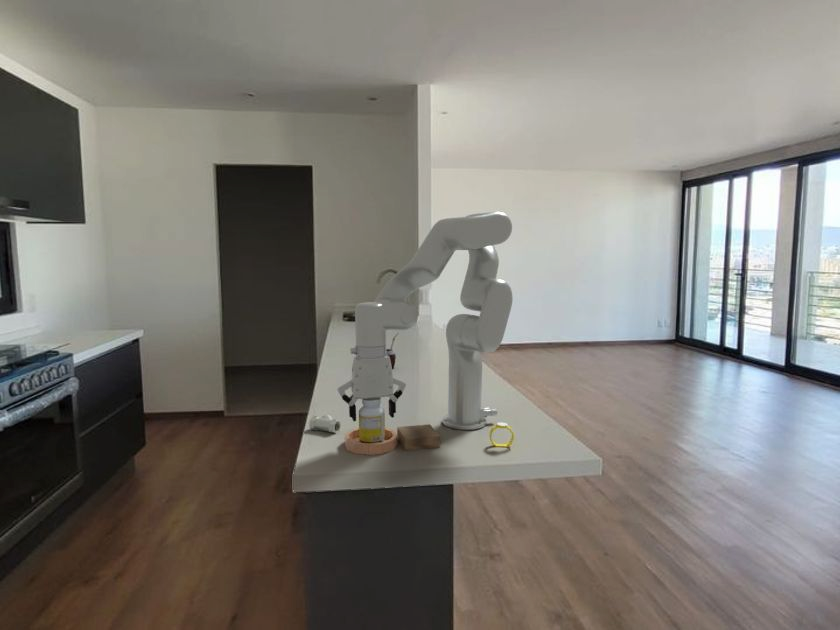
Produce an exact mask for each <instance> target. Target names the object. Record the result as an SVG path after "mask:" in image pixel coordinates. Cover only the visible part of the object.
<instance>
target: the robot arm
mask: <svg viewBox="0 0 840 630" xmlns="http://www.w3.org/2000/svg"><path fill="white" fill-rule="evenodd" d="M512 230H513V224H512V221H511V219H510V217H509V216H508V215H507V214H506V213H504V212H501V211H491V212H482V213H472V214H469V215H465V216H459V217H450V218H449V217H448V218H443V219H439V220H438V221H437V222H435V224H434V225H433V226H432V227H431V229H430V231H429V232H428V234H427V235H426V236H425V238H424V240H423V242H421V244H420V246H419V248H418V249H417V251H416V252H415V254H414V255H413V257H412V258H411V260H410V261H409V262H408V263H407V264H406V265H404V266H403V267H402V268H401V269H399V270H398V271H397V272H396V273H395V274H394V275H393V276H392V277H391V278H389V280H388V281H387V282H386V283H385V284H384V285H383V287H382V288H381V290H380V292H379V293H378V295H377V296H376V298H375V299H374V301H366V302H359V303H358V304H356V306H355V307H354V318H355V319H354V320H355V321H354V323H355V326H354V327H355V346H354V347H351V348H350V349H349V351H350V354H351V355H353V354H354V355H355V356H354V357H353V361H352V367H351V379H350V380H349V381H347V382H346V383H344V384H342V385H340V386H338V388H337V392H338V394H339V396H340V397H341V399H342V400H343V401H344V402H345V403H346V404H347V405H348V411H349V413H348V415H349V418H351V419H352V422H356V421H357V405H356V402H357V401H358V400H362V399H368V398H379V397H380V398H385V397H388V398H389V399H388V415H389V416H390V418H395V414H396V413H397V402H398V399H400V397H402V395H403V392H404V391H405V388H406V386H407V384H406V382H404V381H402V380H400V379H397V378H395V377H393V369H392V366H391V361H390V357H389V356H388V355H386V349H387V331H388V330H390V331H405V330H406V331H407V330H410V329H411V328H412V327H414V326H415V325H416V323H417V322H418V318H419V312H418V310H417V308H416V306H415V305H414V304H413V303H411V302H410V301H406V299H407V298H408V297H409V296H410V295H411V294H412V293H413V292H415V291H417V290H418V289H420V288H423V287H425V286H427V285H429V284H431V283H433V282H435V281H437V280H438V278H440V276H441V274H442V272H443V271H444V269H445V268H446V266H447V265H448V263H449V262H450V260H451V258H452V257H453V255H454V253H455V252H456V251H468V255H469V256H468V257H469V259H468V264H467V270H466V273H465V277H464V281H463V284H462V288H461V291H460V297H459V298H460V302H461V303H460V304H461V305H462V306H463V307H464V308H465V309H467V310H470V311H474V312H479V315H475V314H468V313H460V314H455V315H454V316H452V317H451V318H450V319H449V320H448V322H447V324H446V328H445V339H446V344H447V350H448V394H447V395H448V396H447V398H448V400H447V403H448V406H447V411H448V412H447V414H446V415H444V416H443V417H442V424H443V425H444V426H446V427H448V428H451V429H456V430H464V431H465V430H466V431H468V430H469V431H470V430H479V429H482V428H484V427H485V426H486V425H487V419H486V418H488V417H490V416H491V417H494V416H495V417H496V416H498V410H497V409H496V408H491V409H490V407H483V406H482V396H483V395H482V386H483V383H482V382H483V361H482V360H483V359H482V355H481V353H484V354H488V353H490V354H491V353H493V352H495V351H496V350H497V349H498V348H499V347H500V345H501V344H502V341H503V339H504V336H505V334H506V333H505V332H506V328H507V324H508V321H509V317H510V313H511V311H512V307H513V306H512V305H513V297H514V296H513V291H512V288H511V286H510V284H508V282H506V281H505V280H503V279H500V278H497V276H498V275H497V274H498V270H499V263H500V262H499V261H500V260H499V255H498V252H497V250H496V247H495V245H501V244H502V243H504V242H506V241H507V240H508V239H509V238H510V236H511V234H512ZM394 385H396V386H398V387H397V390H395V392H394ZM348 389H351V392H352V394H351V395H350V396H348V395H347V394H346V391H347V390H348Z"/></svg>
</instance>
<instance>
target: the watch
mask: <svg viewBox="0 0 840 630" xmlns="http://www.w3.org/2000/svg"><path fill="white" fill-rule="evenodd" d="M496 429H507V430H509V432H510V433H511V438H510V440H509V441H508V442H507V443H505V444H504V443H496V442H495V441H494V440H493V439H492V434H493V433H494V431H495V430H496ZM514 436H515V435H514V431H513V430H512V428H511V427H510V426H509V425H508V423H506V422H501V421H500V422H496V424H495V425H494V426H492V428H491V429H490V431H489V440H490V442H491V444H492V445H493V446H494V447H496V448H508V447H510V446H511V445H512V444H513V441H514V439H515V438H514Z"/></svg>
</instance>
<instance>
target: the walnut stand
mask: <svg viewBox="0 0 840 630" xmlns="http://www.w3.org/2000/svg"><path fill="white" fill-rule="evenodd" d="M396 434H397V441H398V442H399V443H400V445H401V446H402V448H403V450H404V451H405V452H406V451H415V450H423V449H424V450H427V449H435V448H437V449H438V448H440V447H441V435H440V434H439V433H438V432H437V430H435V429H434V427H433V426H432V425H431V424H430V423H429V424H420V425H419V424H415V425H407V426H406V425H405V426H397V427H396Z"/></svg>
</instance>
